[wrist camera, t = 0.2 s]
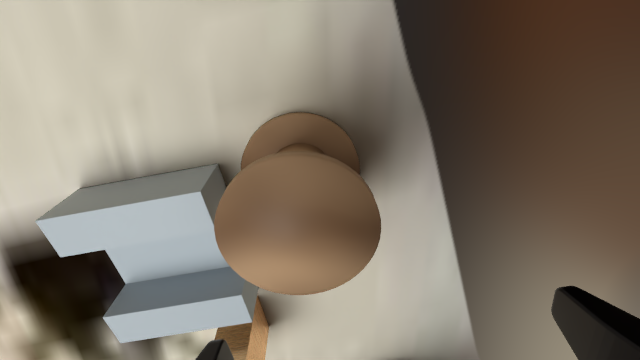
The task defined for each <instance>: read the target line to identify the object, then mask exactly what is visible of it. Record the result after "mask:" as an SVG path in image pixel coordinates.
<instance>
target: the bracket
mask: <svg viewBox="0 0 640 360" xmlns="http://www.w3.org/2000/svg"><path fill="white" fill-rule="evenodd" d="M225 190H226V185H225V183H224V180H223V177H222V174H221V171H220V169H219V166H218V164H213V165H208V166H202V167H197V168H191V169H186V170H180V171H175V172H169V173H164V174H158V175H153V176H147V177H142V178H136V179H131V180H125V181H120V182H114V183H109V184H103V185H98V186H92V187H87V188H81V189H78V190H77V191H75V192H74V193H73V194H71V195H70V196H69V197H67V198H66V199H65V200H63V201H62V202H60V203H59V204H58V205H56V206H55V207H54V208H52V209H51V210H50V211H48V212H47V213H45V214H44V215H43V216H41V217H40V218H39V219H37V220H36V221H35V222H36V223H37V224H38V226H39V227H40V229H41V230H42V232H43V233H44V234H45V236H46V237H47V239H48V240H49V242H50V243H51V244H52V246H53V247H54V249H55V250H56V251H57V253H58V254H59V256H60V257H64V256H70V255H76V254H82V253H88V252H93V251H99V250H106V252H107V254H108V255H109V257H110V258H111V260H112V262H113V263H114V265H115V267H116V268H117V270H118V272H119V273H120V275H121V277H122V278H123V280H124V281H125V283H126V285H125V286H124V288H123V289H122V290H121V292H120V293H119V295H118V296H117V298H116V299H115V301H114V302H113V304H112V305H111V306H110V308H109V309H108V311H107V312H106V314H105V315H104V317H103V319H104V320H105V321H106V323H107V324H108V326H109V327H110V329H111V330H112V331H113V333H114V334H115V336H116V337H117V339H118V340H119V341H120V343H124V342H131V341H137V340H143V339H150V338H156V337H162V336H169V335H175V334H181V333H188V332H194V331H200V330H206V329H213V328H219V327H225V326H232V325H238V324H244V323H251V322H252V321H253V316H254V310H255V305H256V299H257V294H258V288H259V287H258V286H256V285H254V284H252V283H250V282H248V281H247V280H245V279H244V278H242V277H241V276H240V275H238V274H237V273H236V272H235V271H234V270H233V269H232V268H231V267H230V266H229V265H228V263H227V262H226V261H225V259H224V258H223V256H222V254H221V252H220V250H219V248H218V245H217V242H216V238H215V232H214V220H215V214H216V210H217V207H218V204H219V202H220V200H221V198H222V196H223V194H224V192H225Z"/></svg>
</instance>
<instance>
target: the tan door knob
mask: <svg viewBox="0 0 640 360" xmlns="http://www.w3.org/2000/svg"><path fill="white" fill-rule="evenodd" d="M214 232H215V238H216V242H217V245H218V248H219V250H220V252H221V254H222V256H223V258H224V259H225V261H226V262H227V263H228V265H229V266H230V267H231V268H232V269H233V270H234V271H235V272H236V273H237V274H238V275H240V276H241V277H242V278H244V279H245V280H247V281H248V282H250V283H252V284H254V285H256V286H258V287H260V288H263V289H265V290H268V291H272V292H275V293H281V294H289V295H307V294H315V293H320V292H324V291H327V290H330V289H333V288H336V287H338V286H340V285H342V284H344V283H346V282H347V281H349V280H351V279H352V278H353V277H355V276H356V275H357V274H358V273H359V272H361V271H362V270H363V269H364V267H365V266H366V265H367V264H368V263H369V261H370V260H371V258H372V257H373V255H374V253H375V251H376V249H377V247H378V243H379V240H380V234H381V219H380V214H379V210H378V207H377V204H376V202H375V199H374V196H373V194H372V192H371V190H370V188H369V187H368V185H367V184H366V182H365V181H364V180H363V178H362V177H361V176H360V164H359V159H358V155H357V152H356V150H355V147H354V145H353V143H352V141H351V139H350V138H349V136H348V135H347V134H346V132H345V131H344V130H343V129H342V128H341V127H339V126H338V125H337V124H336V123H334V122H332V121H331V120H329V119H327V118H325V117H322V116H320V115H316V114H312V113H305V112H296V113H288V114H284V115H280V116H278V117H275V118H273V119H271V120H269V121H268V122H266V123H265V124H263V125H262V126H261V127H260V128H259V129H258V130H257V131H256V132H255V133H254V134H253V136H252V137H251V138H250V140H249V142H248V144H247V146H246V148H245V151H244V153H243V156H242V161H241V171H240V172H239V173H238V174H237V175H236V176H235V177H234V178H233V179H232V181H231V182H230V183H229V185H228V186H227V188H226V190H225V192H224V194H223V196H222V198H221V200H220V202H219V204H218V207H217V210H216V214H215V220H214Z"/></svg>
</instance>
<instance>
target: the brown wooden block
mask: <svg viewBox="0 0 640 360" xmlns="http://www.w3.org/2000/svg"><path fill="white" fill-rule="evenodd" d="M268 330H269V325H268V323H267V320H266V317H265V315H264V312H263V309H262V306H261V304H260V301H259V298H258V296H257V299H256V305H255V310H254V316H253V321H252V322H251V323H244V324H238V325H232V326H225V327H219V328H218V330H217V333H216V336H215V340H219V339H224V340H226V342H227V344H228V346H229V348H230V350H231V353H232V355H233V357H234V360H265V354H266V346H267V338H268Z"/></svg>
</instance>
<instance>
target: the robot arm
mask: <svg viewBox="0 0 640 360" xmlns="http://www.w3.org/2000/svg"><path fill="white" fill-rule="evenodd" d="M551 310H552V315H553V317H554V320H555V321H556V323H557V325H558V326H559V328H560V329H561V331H562V333H563V335H564V336H565V338H566V340H567V341H568V343H569V345H570V346H571V348H572V350H573V352H574V353H575V355H576V357H577V358H578V360H640V319H639V318H637V317H635V316H633V315H631V314H629V313H627V312H625V311H623V310H621V309H619V308H617V307H615V306H613V305H611V304H609V303H607V302H605V301H604V300H601V299H600V298H598V297H596V296H594V295H592V294H590V293H588V292H586V291H584V290H582V289H580V288H578V287H575V286H566V287H560V288H557V289H556V290H555V295H554V299H553V304H552V309H551ZM196 360H234V357H233V355H232V353H231V350H230V348H229V346H228V344H227V342H226V340H224V339H219V340H213V341H210V342H209V343H208V344H207V345H206V346H205V348H204V349H203V350H202V352H201V353H200V354H199V356H198V357H197V358H196Z"/></svg>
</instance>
